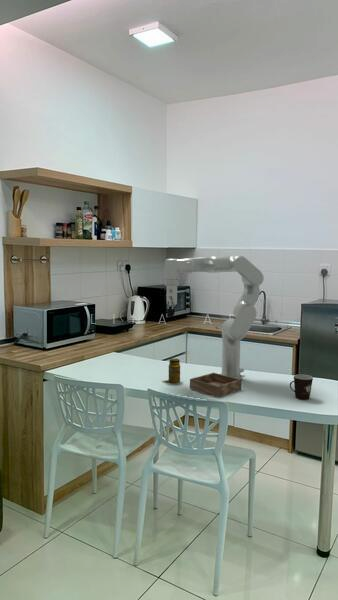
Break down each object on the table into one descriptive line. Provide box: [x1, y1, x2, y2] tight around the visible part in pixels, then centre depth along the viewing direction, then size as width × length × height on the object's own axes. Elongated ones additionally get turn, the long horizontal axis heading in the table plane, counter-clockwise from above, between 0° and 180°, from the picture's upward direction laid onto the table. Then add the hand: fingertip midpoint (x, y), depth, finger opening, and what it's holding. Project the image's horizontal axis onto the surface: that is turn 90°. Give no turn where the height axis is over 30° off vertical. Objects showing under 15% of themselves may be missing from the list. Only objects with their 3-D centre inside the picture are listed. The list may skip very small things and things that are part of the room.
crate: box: [189, 372, 243, 398], centre depth 225 cm, size 18×18×5 cm
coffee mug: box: [289, 373, 314, 401], centre depth 213 cm, size 12×9×10 cm
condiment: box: [162, 358, 184, 386], centre depth 236 cm, size 7×8×12 cm
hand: (170, 315), depth 236 cm, fingers open, 9 cm apart
